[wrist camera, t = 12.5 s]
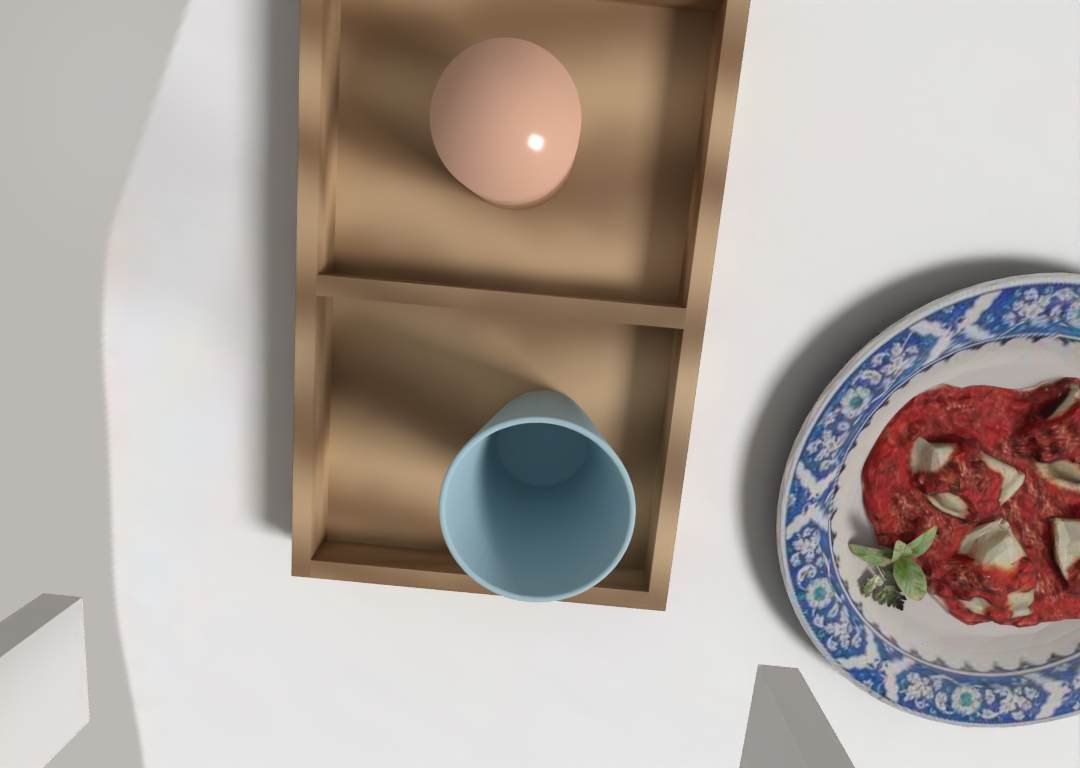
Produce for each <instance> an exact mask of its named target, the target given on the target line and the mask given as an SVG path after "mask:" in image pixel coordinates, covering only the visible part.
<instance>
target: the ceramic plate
mask: <svg viewBox="0 0 1080 768" xmlns="http://www.w3.org/2000/svg"><path fill="white" fill-rule="evenodd" d="M776 535H777V551H778V557H779V564H780V570H781V574H782V577H783V581H784V585H785V588H786V591H787V594H788V596H789V599H790V601H791V604H792V607H793V609H794V612H795V614H796V616H797V617H798V619H799V621H800V623H801V625H802V627H803V629H804V630H805V632H806V633H807V635H808V636H809V638H810V639H811V641H812V642H813V644H814V645H815V647H816V648H817V649H818V650H819V651H820V652H821V653H822V654H823V656H824V657H825V658H826V659H827V660H828V661H829V662H830V663H831V665H832V666H833V667H834V668H835V669H837V670H838V671H839V672H840V673H841V674H842V675H843V676H844V677H845V678H847V679H848V680H849V681H851V682H852V683H853V684H854V685H856V686H857V687H858V688H860V689H861V690H863V691H865V692H866V693H868V694H870V695H871V696H873V697H874V698H876V699H878V700H879V701H881V702H883V703H885V704H887V705H889V706H892V707H894V708H896V709H898V710H901V711H904V712H906V713H909V714H912V715H914V716H917V717H921V718H925V719H928V720H932V721H936V722H941V723H946V724H952V725H957V726H963V727H980V728H1004V727H1016V726H1027V725H1033V724H1039V723H1045V722H1050V721H1054V720H1059V719H1063V718H1067V717H1071V716H1075V715H1079V714H1080V274H1076V273H1035V274H1027V275H1018V276H1011V277H1006V278H1001V279H997V280H992V281H987V282H983V283H980V284H977V285H973V286H970V287H967V288H964V289H960V290H958V291H955V292H953V293H950V294H948V295H946V296H943V297H941V298H938V299H936V300H934V301H932V302H930V303H928V304H926V305H924V306H922V307H920V308H918V309H916V310H914V311H913V312H911V313H909V314H908V315H906V316H905V317H903V318H901V319H900V320H898V321H897V322H895V323H894V324H892V325H890V326H889V327H888V328H886V329H885V330H884V331H883V332H881V333H880V334H879V335H877V336H876V337H875V338H873V339H872V340H871V341H870V342H868V343H867V344H866V345H865V346H864V347H863V348H862V349H861V350H860V351H859V352H858V353H856V354H855V355H854V356H853V357H852V358H851V359H850V360H849V361H848V362H847V363H846V365H845V366H844V367H843V368H842V369H841V370H840V371H839V373H838V374H837V375H836V376H835V377H834V378H833V379H832V381H831V382H830V383H829V384H828V385H827V386H826V387H825V389H824V390H823V392H822V394H821V395H820V397H819V398H818V400H817V401H816V403H815V405H814V406H813V408H812V409H811V411H810V412H809V414H808V416H807V417H806V419H805V421H804V423H803V425H802V427H801V429H800V431H799V433H798V435H797V437H796V439H795V441H794V444H793V447H792V449H791V452H790V455H789V457H788V460H787V463H786V467H785V470H784V474H783V478H782V482H781V486H780V493H779V499H778V505H777V521H776Z"/></svg>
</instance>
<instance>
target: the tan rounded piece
mask: <svg viewBox="0 0 1080 768" xmlns="http://www.w3.org/2000/svg"><path fill="white" fill-rule="evenodd" d="M430 127H431V134H432V138H433V142H434V145H435V148H436V150H437V153H438V155H439V157H440V159H441V160H442V162H443V164H444V165H445V166H446V168H447V169H448V171H449V172H450V173H451V174H452V175H453V176H454V177H455V178H456V179H457V180H458V181H460V182H461V183H462V184H463V185H465V186H466V187H467V188H468V189H470V190H471V191H472V192H474V193H475V194H476V195H478V196H479V197H480V198H482V199H483V200H485V201H486V202H488V203H489V204H492V205H494V206H496V207H499V208H502V209H508V210H526V209H530V208H534V207H537V206H539V205H542V204H543V203H545V202H547V201H549V200H550V199H551V198H552V197H554V196H555V195H556V194H557V193H558V192H559V191H560V190H561V189H562V187H563V186H564V185H565V183H566V182H567V180H568V178H569V176H570V174H571V172H572V169H573V166H574V162H575V157H576V152H577V147H578V142H579V136H580V130H581V106H580V101H579V96H578V93H577V90H576V87H575V85H574V83H573V81H572V79H571V77H570V75H569V74H568V72H567V71H566V69H565V68H564V66H563V65H562V64H561V63H560V62H559V61H558V60H557V59H556V58H555V57H554V56H553V55H552V54H551V53H549V52H548V51H546V50H545V49H543V48H542V47H540V46H538V45H536V44H534V43H532V42H529V41H525V40H522V39H516V38H494V39H489V40H485V41H481V42H479V43H477V44H475V45H472V46H471V47H469V48H467V49H466V50H464V51H463V52H461V53H460V54H459V55H458V56H456V57H455V58H454V59H453V60H452V62H451V63H450V64H449V65H448V66H447V67H446V69H445V70H444V72H443V73H442V75H441V77H440V79H439V80H438V82H437V85H436V87H435V90H434V93H433V97H432V101H431V108H430Z"/></svg>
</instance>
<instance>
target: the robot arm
mask: <svg viewBox="0 0 1080 768" xmlns="http://www.w3.org/2000/svg"><path fill="white" fill-rule="evenodd" d="M88 722H89V704H88V687H87V671H86V654H85V637H84V620H83V604H82V597H74V596H63V595H52V594H42V595H40V596H39V597H37V598H36V599H34V600H33V601H31V602H30V603H28V604H27V605H25V606H24V607H22V608H21V609H19V610H18V611H16V612H15V613H13V614H12V615H10V616H9V617H7V618H6V619H4V620H3V621H1V622H0V768H43V767H44V766H45V765H46V764H47V763H48V762H49V761H50V760H51V759H52V758H53V757H54V756H55V755H56V754H57V753H58V752H59V751H60V750H61V749H62V748H63V747H64V746H65V745H66V744H67V743H68V742H69V741H70V740H71V739H72V738H73V737H74V736H75V735H76V734H77V733H78V731H80V730H81V729H82V728H83V727H84V726H85V725H86V724H87V723H88ZM739 768H855V767H854V765H853V764H852V762H851V760H850V758H849V757H848V755H847V753H846V751H845V750H844V748H843V746H842V744H841V743H840V741H839V739H838V737H837V736H836V734H835V732H834V730H833V729H832V727H831V725H830V723H829V722H828V720H827V718H826V716H825V715H824V713H823V711H822V709H821V708H820V706H819V704H818V702H817V701H816V699H815V697H814V695H813V694H812V692H811V690H810V688H809V687H808V685H807V683H806V681H805V680H804V678H803V676H802V674H801V673H800V671H799V669H798V668H790V667H779V666H769V665H759V664H758V669H757V674H756V680H755V685H754V691H753V696H752V702H751V707H750V713H749V718H748V724H747V729H746V735H745V740H744V745H743V751H742V756H741V762H740V767H739Z"/></svg>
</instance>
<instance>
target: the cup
mask: <svg viewBox="0 0 1080 768" xmlns="http://www.w3.org/2000/svg"><path fill="white" fill-rule="evenodd" d="M635 515H636V506H635V496H634V490H633V486H632V483H631V480H630V478H629V475H628V473H627V471H626V469H625V467H624V465H623V463H622V462H621V460H620V459H619V457H618V456H617V454H616V453H615V452H614V450H613V449H612V448H611V446H610V445H609V444H608V443H607V441H606V440H605V439H604V437H603V436H602V435H601V433H600V432H599V430H598V429H597V428H596V426H595V425H594V424H593V422H592V421H591V420H590V418H589V417H588V416H587V414H586V413H585V412H584V411H583V410H582V409H581V408H580V407H579V406H578V405H577V403H576V402H575V401H574V400H572V399H571V398H569V397H567V396H565V395H562V394H559V393H557V392H555V391H550V390H541V391H529V392H526V393H524V394H522V395H520V396H518V397H516V398H514V399H512V400H511V401H509V402H508V403H507V404H506V405H505V406H504V407H503V408H502V409H501V410H500V411H499V412H498V413H497V414H496V415H495V416H494V417H493V418H492V419H491V420H490V421H489V422H488V423H487V424H486V425H485V426H484V427H483V428H482V429H481V430H480V431H479V432H478V433H476V434H475V435H474V436H473V437H472V438H471V439H470V440H469V441H468V442H467V443H466V444H465V445H464V446H463V448H462V449H461V450H460V451H459V452H458V453H457V455H456V456H455V458H454V459H453V461H452V462H451V464H450V466H449V468H448V470H447V472H446V474H445V477H444V480H443V482H442V486H441V491H440V496H439V520H440V526H441V530H442V534H443V537H444V540H445V542H446V544H447V547H448V549H449V551H450V552H451V554H452V556H453V557H454V559H455V560H456V562H457V563H458V564H459V565H460V567H461V568H462V569H463V570H464V571H465V572H466V573H467V574H468V575H469V576H470V577H471V578H472V579H474V580H475V581H476V582H477V583H479V584H480V585H482V586H483V587H485V588H487V589H488V590H490V591H492V592H494V593H496V594H499V595H501V596H504V597H507V598H511V599H515V600H519V601H526V602H550V601H557V600H562V599H565V598H569V597H572V596H575V595H577V594H580V593H582V592H584V591H586V590H588V589H590V588H591V587H593V586H594V585H596V584H597V583H599V582H600V581H601V580H602V579H604V578H605V577H606V576H607V575H608V574H609V573H610V572H611V571H612V570H613V569H614V568H615V566H616V565H617V564H618V562H619V561H620V560H621V558H622V556H623V555H624V553H625V551H626V549H627V547H628V545H629V543H630V540H631V537H632V534H633V530H634V524H635Z"/></svg>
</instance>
